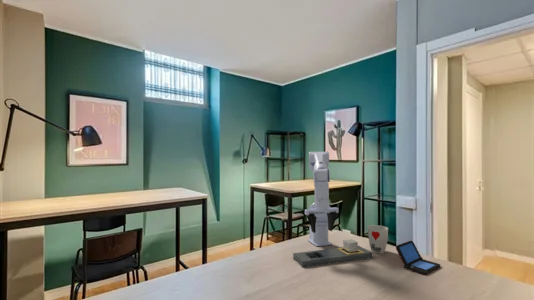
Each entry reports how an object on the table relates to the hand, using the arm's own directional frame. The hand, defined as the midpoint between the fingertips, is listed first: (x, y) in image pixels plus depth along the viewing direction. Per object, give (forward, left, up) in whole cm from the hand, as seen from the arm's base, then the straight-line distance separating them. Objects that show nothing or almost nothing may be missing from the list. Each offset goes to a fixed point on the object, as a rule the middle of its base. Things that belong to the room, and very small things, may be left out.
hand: (322, 231), depth 115 cm
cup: (+4, +24, -10) cm, 26 cm away
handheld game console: (+21, +28, -10) cm, 36 cm away
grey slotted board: (+5, +2, -9) cm, 11 cm away
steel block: (+5, +10, -10) cm, 15 cm away
